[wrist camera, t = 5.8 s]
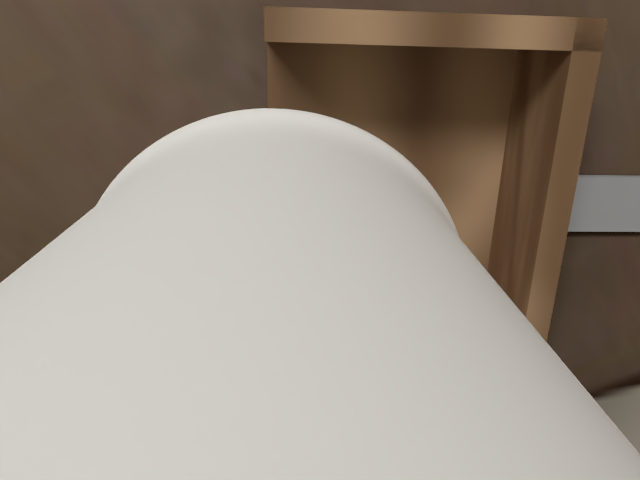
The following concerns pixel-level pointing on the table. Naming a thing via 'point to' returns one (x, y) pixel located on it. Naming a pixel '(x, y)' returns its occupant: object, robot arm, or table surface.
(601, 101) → the table surface
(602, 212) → the grey rectangular slab
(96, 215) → the mug
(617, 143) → the table surface
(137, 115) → the table surface
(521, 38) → the keeper cradle
